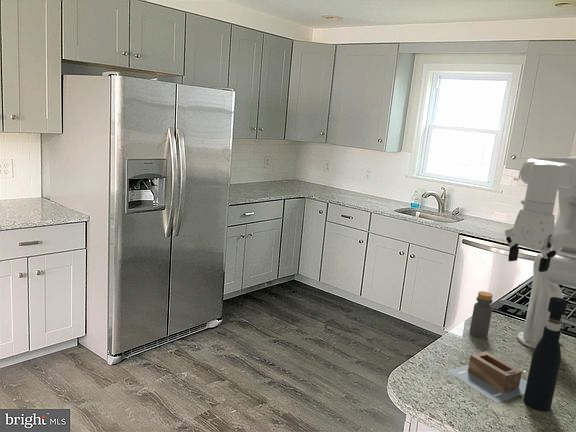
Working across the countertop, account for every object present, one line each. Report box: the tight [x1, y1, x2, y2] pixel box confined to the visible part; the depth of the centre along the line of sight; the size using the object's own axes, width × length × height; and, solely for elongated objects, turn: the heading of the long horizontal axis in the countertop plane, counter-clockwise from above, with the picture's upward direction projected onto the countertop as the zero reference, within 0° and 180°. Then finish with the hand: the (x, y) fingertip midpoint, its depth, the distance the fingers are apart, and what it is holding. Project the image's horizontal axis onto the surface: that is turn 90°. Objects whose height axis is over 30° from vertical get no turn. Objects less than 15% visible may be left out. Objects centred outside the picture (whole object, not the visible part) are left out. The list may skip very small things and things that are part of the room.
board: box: [446, 364, 527, 404], centre depth 139 cm, size 18×17×4 cm
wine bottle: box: [523, 297, 569, 412], centre depth 125 cm, size 6×6×30 cm
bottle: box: [469, 290, 494, 339], centre depth 169 cm, size 6×6×15 cm
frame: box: [468, 350, 523, 393], centre depth 138 cm, size 6×12×5 cm, turn 29°
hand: (527, 265), depth 142 cm, fingers open, 9 cm apart
